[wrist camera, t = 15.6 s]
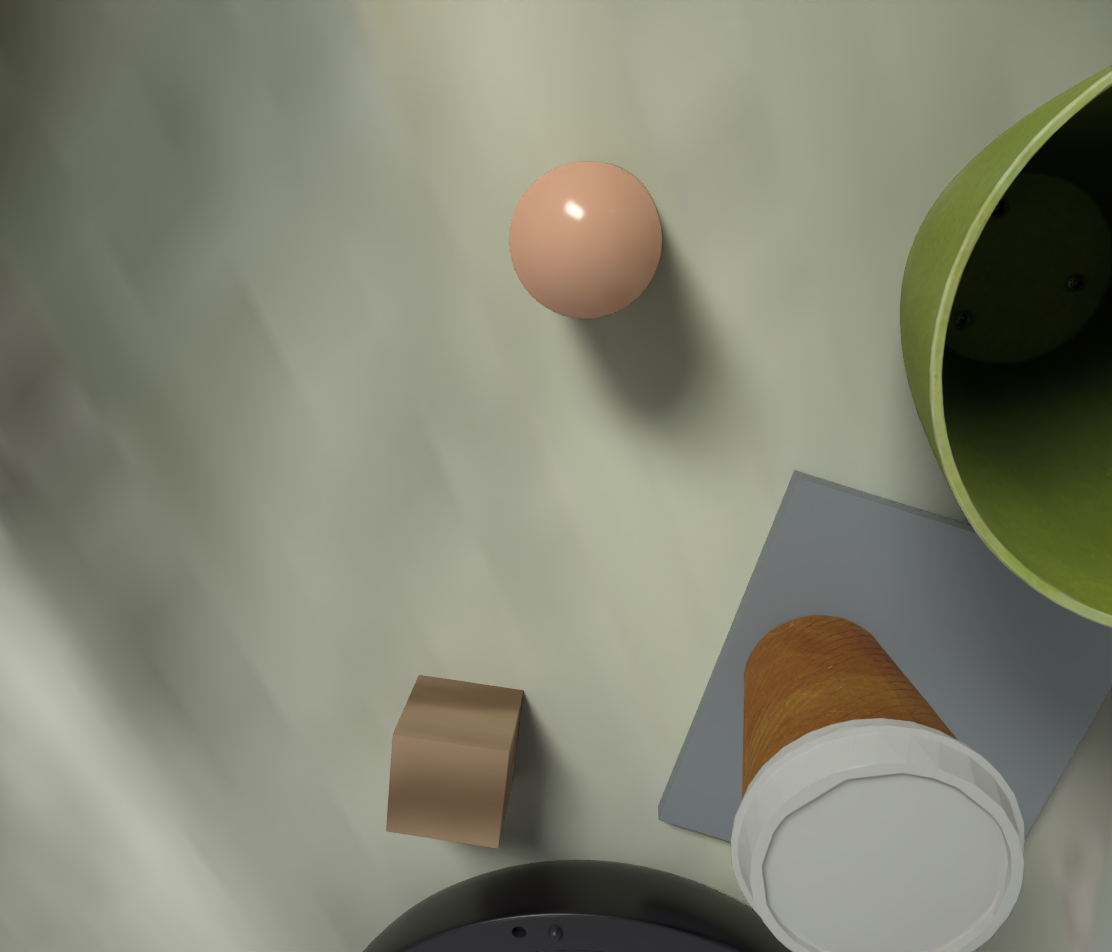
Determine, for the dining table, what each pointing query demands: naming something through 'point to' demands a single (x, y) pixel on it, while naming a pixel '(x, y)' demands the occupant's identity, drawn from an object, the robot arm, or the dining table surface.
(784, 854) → the disposable coffee cup
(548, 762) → the dining table surface
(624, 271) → the light brown egg
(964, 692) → the slate board
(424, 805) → the walnut block
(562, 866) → the round tray
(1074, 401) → the flower pot
